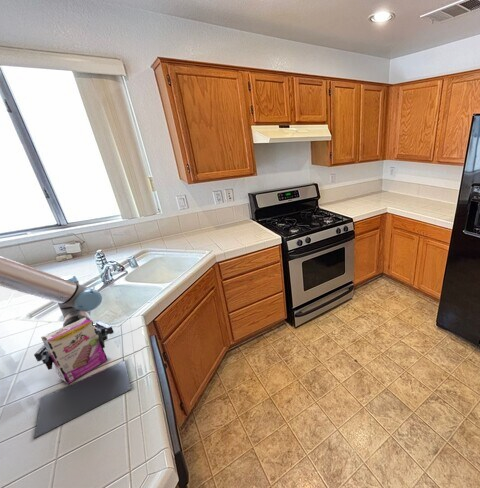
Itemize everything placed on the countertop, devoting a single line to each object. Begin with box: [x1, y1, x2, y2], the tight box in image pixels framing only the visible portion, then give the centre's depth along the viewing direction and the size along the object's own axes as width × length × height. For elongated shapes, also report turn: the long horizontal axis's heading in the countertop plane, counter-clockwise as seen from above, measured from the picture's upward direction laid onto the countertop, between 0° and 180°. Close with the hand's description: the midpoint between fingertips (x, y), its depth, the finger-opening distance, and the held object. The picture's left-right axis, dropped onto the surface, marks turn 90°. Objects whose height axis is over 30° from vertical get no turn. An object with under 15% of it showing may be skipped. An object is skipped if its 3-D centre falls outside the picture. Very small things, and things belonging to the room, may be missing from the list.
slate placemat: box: [34, 360, 132, 439], centre depth 77 cm, size 20×16×1 cm
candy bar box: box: [40, 317, 109, 385], centre depth 84 cm, size 11×5×16 cm, turn 154°
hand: (76, 354), depth 81 cm, fingers closed on candy bar box, 12 cm apart
